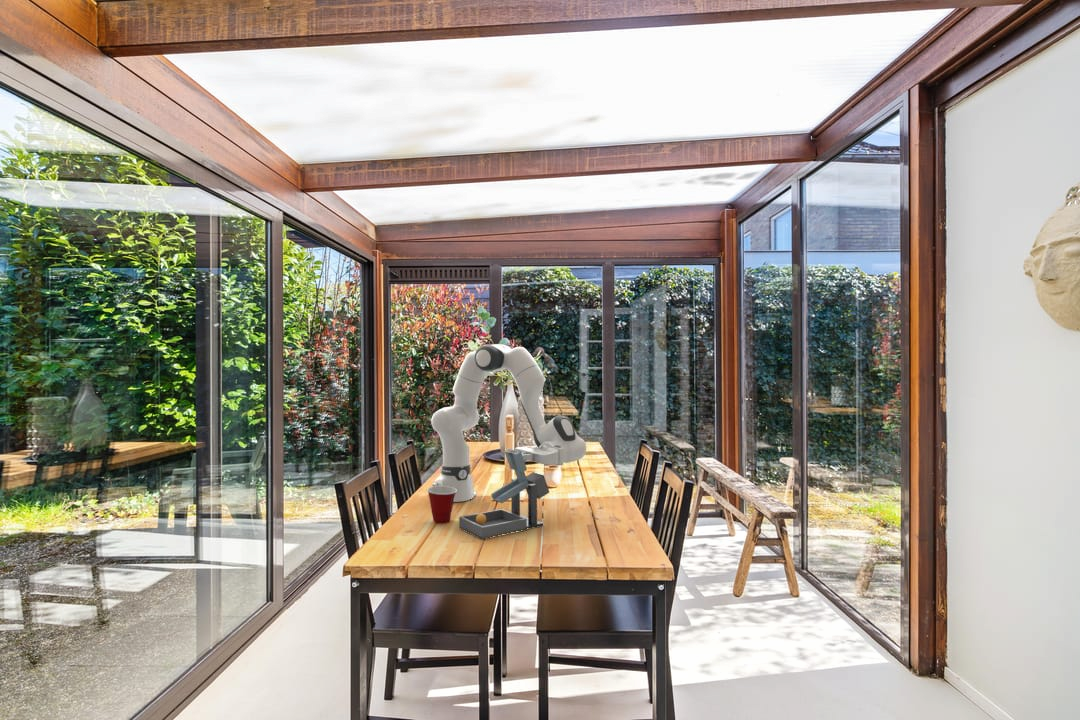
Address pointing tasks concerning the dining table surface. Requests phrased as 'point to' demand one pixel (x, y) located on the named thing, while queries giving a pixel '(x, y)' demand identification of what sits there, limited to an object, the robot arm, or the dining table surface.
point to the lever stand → (531, 506)
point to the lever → (520, 479)
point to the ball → (481, 519)
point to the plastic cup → (441, 502)
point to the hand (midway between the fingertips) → (518, 457)
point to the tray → (493, 523)
